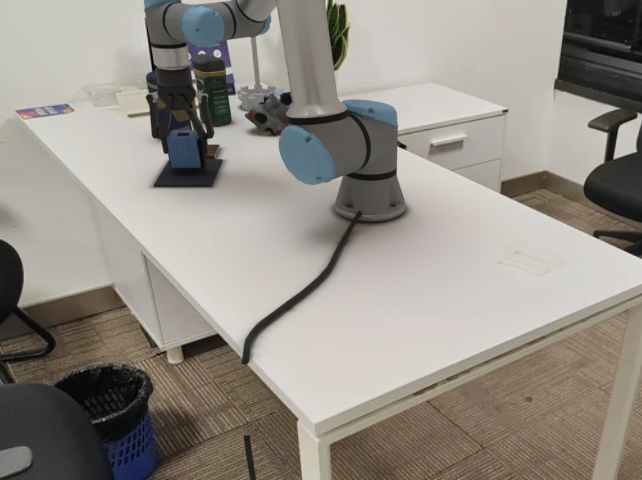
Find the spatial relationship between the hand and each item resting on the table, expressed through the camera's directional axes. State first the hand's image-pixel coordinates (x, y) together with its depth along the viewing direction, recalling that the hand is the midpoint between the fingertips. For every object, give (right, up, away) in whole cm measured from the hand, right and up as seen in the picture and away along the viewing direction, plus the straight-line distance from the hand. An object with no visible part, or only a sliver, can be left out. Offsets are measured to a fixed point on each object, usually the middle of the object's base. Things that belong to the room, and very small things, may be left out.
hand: (188, 166), depth 166 cm
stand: (-2, +7, +13) cm, 15 cm away
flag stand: (+4, +33, +53) cm, 62 cm away
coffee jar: (-5, +23, +37) cm, 44 cm away
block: (0, +1, 0) cm, 1 cm away
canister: (-12, +14, +24) cm, 30 cm away
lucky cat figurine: (+14, +19, +34) cm, 41 cm away
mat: (0, -1, +1) cm, 2 cm away
